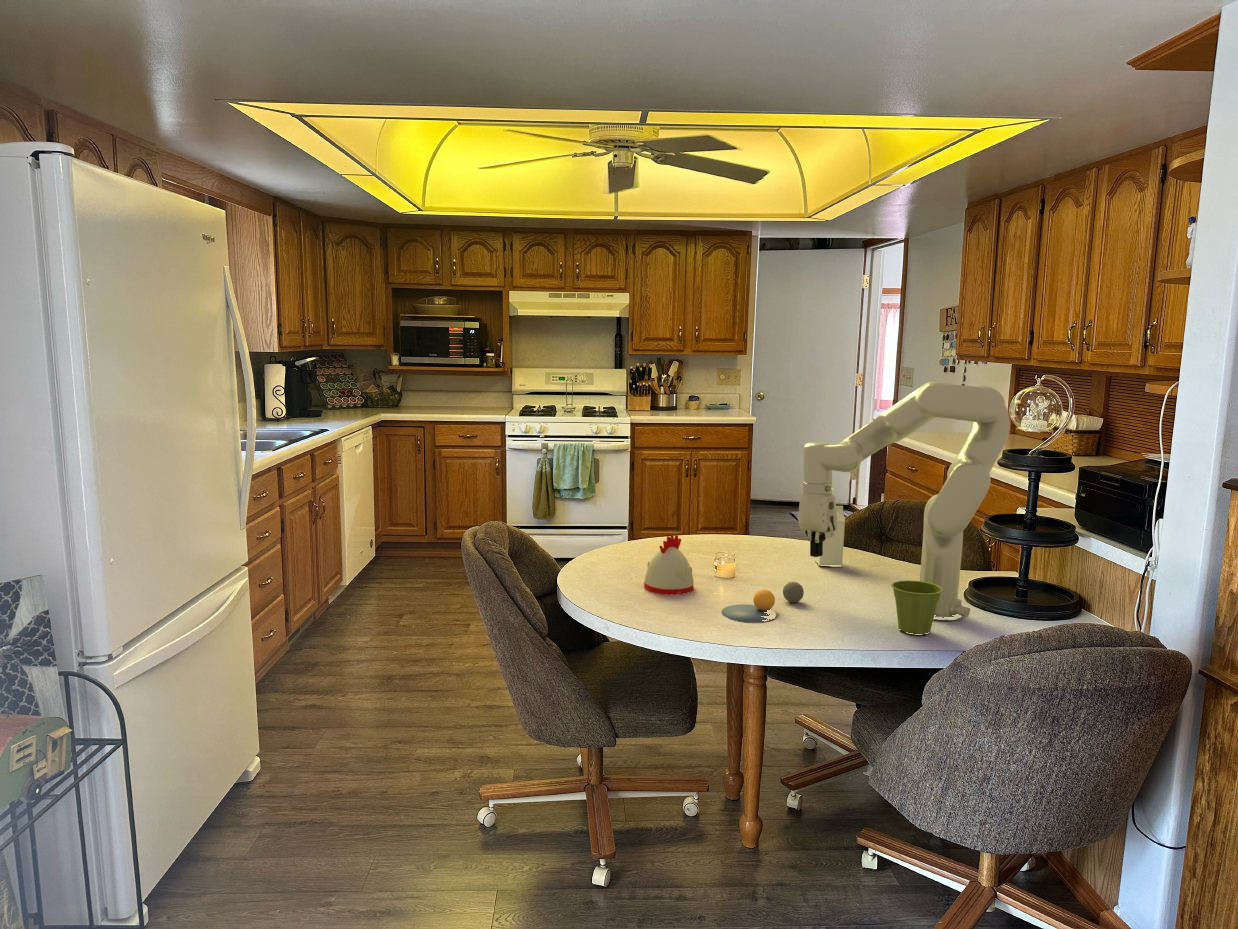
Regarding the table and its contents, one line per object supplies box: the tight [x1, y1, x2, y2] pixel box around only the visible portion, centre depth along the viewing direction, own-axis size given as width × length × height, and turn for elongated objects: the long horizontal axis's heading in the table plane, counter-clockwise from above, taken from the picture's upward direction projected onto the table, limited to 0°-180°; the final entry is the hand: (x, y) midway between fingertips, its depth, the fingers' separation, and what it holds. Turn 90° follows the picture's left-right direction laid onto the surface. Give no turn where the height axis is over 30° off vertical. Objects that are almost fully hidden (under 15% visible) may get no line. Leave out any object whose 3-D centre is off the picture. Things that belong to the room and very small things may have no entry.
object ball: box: [752, 588, 776, 611], centre depth 216 cm, size 6×6×6 cm
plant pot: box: [890, 580, 943, 635], centre depth 202 cm, size 12×12×11 cm
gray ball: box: [782, 581, 804, 603], centre depth 223 cm, size 6×6×6 cm
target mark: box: [721, 603, 770, 623], centre depth 213 cm, size 14×14×1 cm
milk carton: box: [814, 505, 846, 566], centre depth 262 cm, size 7×7×19 cm
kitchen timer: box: [643, 534, 694, 596], centre depth 233 cm, size 14×14×15 cm
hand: (816, 555), depth 224 cm, fingers closed
